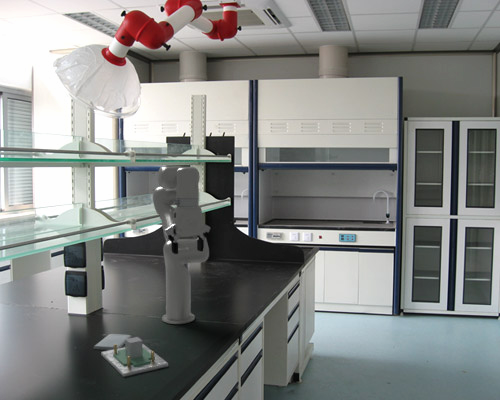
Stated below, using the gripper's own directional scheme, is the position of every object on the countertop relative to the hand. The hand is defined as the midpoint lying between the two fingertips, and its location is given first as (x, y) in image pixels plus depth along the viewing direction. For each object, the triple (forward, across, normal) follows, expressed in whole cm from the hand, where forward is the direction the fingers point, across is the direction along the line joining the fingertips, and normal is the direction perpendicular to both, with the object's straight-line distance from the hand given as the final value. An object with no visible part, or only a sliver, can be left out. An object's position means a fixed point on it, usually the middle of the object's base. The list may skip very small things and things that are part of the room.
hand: (187, 252), depth 182 cm
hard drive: (+31, -24, +8) cm, 40 cm away
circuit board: (+29, -24, -10) cm, 39 cm away
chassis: (+30, -24, -10) cm, 40 cm away
